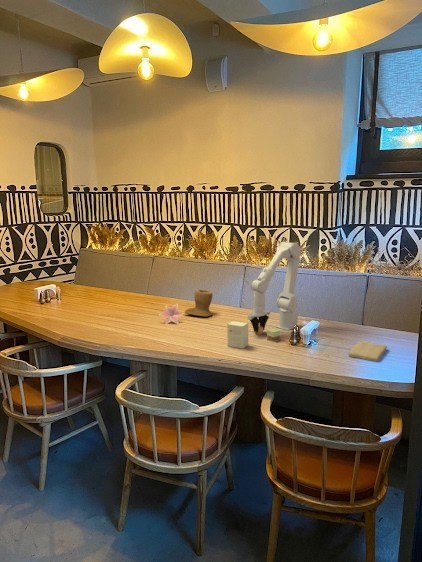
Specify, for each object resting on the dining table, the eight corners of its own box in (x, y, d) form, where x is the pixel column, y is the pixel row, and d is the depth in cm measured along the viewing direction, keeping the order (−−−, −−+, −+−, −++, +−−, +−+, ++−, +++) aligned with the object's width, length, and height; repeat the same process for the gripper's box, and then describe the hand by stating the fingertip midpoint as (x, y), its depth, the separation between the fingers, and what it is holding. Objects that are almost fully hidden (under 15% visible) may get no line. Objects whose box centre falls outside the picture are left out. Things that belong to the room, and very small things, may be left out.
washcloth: (387, 350, 180) (387, 343, 180) (378, 363, 166) (378, 356, 165) (359, 345, 187) (359, 339, 186) (348, 358, 172) (348, 351, 171)
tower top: (273, 333, 198) (273, 328, 197) (280, 335, 194) (280, 330, 193) (266, 335, 195) (266, 329, 194) (273, 337, 191) (273, 332, 191)
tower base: (271, 338, 198) (271, 333, 198) (280, 339, 195) (280, 334, 195) (267, 340, 195) (267, 335, 194) (275, 342, 192) (275, 337, 191)
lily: (156, 324, 226) (156, 311, 220) (167, 311, 235) (168, 299, 229) (175, 332, 223) (176, 320, 217) (185, 319, 232) (187, 307, 226)
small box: (248, 345, 188) (248, 323, 186) (243, 349, 183) (243, 326, 181) (233, 342, 192) (232, 320, 190) (227, 346, 187) (227, 323, 185)
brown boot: (216, 314, 241) (216, 289, 238) (205, 319, 231) (204, 293, 228) (196, 311, 249) (195, 286, 246) (183, 315, 239) (183, 290, 237)
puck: (258, 331, 207) (258, 325, 206) (264, 333, 204) (264, 326, 204) (253, 333, 204) (253, 326, 204) (259, 335, 202) (259, 328, 201)
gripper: (262, 300, 209) (262, 326, 212) (243, 305, 200) (243, 332, 202) (273, 302, 204) (273, 329, 207) (253, 307, 195) (253, 335, 197)
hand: (259, 330), depth 204 cm, fingers closed on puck, 4 cm apart
